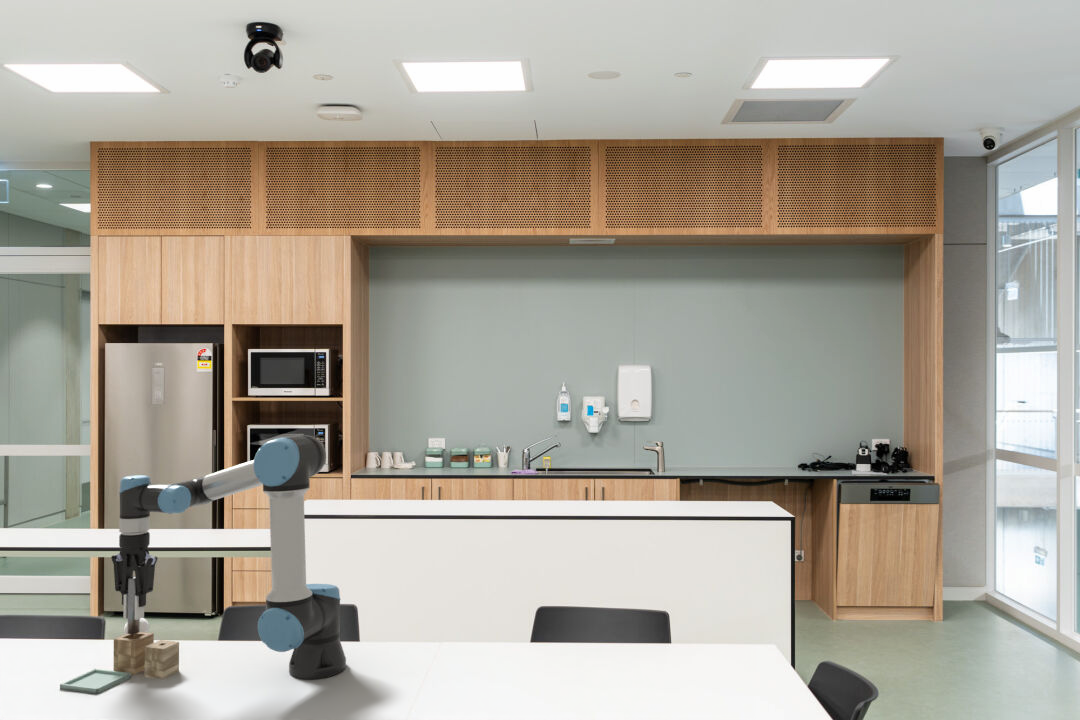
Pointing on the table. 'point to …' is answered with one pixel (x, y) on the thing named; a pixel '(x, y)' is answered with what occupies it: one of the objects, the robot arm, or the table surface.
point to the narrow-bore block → (161, 659)
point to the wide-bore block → (131, 652)
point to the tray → (95, 681)
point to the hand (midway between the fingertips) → (133, 617)
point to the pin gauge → (132, 607)
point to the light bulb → (143, 626)
